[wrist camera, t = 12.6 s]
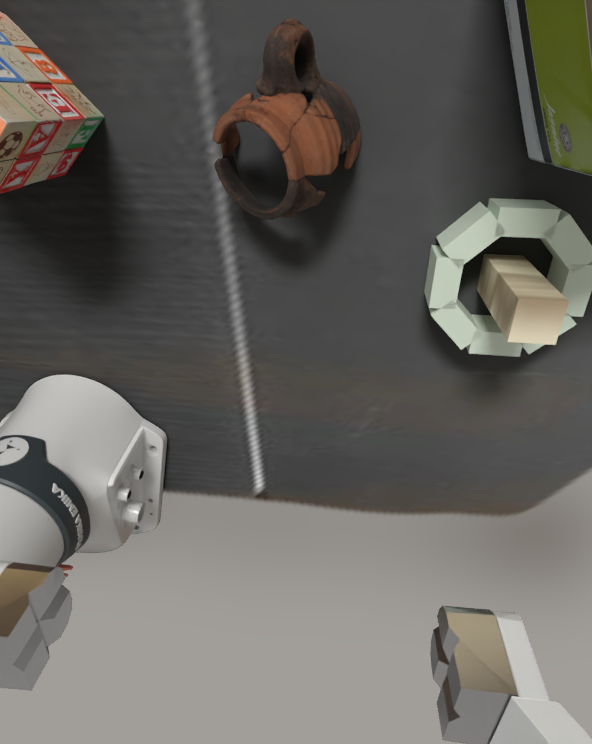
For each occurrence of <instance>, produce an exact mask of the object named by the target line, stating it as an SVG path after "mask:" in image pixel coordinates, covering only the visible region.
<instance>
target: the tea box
mask: <svg viewBox="0 0 592 744" xmlns="http://www.w3.org/2000/svg"><path fill="white" fill-rule="evenodd" d="M504 4H505V11H506V17H507V24H508V31H509V37H510V44H511V51H512V57H513V63H514V70H515V76H516V83H517V89H518V95H519V102H520V108H521V115H522V121H523V128H524V134H525V140H526V146H527V151H528V156H529V158H530V159H532V160H536V161H539V162H542V163H548V164H551V165H554V166H557V167H561V168H563V169H567V170H572V171H575V172H579V173H582V174H586V175H590V176H592V0H504Z"/></svg>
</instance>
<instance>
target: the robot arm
mask: <svg viewBox="0 0 592 744" xmlns="http://www.w3.org/2000/svg"><path fill="white" fill-rule="evenodd" d="M153 446H155V447H156V448H155V447H153ZM166 448H167V436H166V434H165V433H164V431H162V430H161V429H160V428H159V427H157V426H155V425H154V424H152V423H150V422H149V421H147V420H145V419H143V418H142V417H141V416H140V415H139V414H138V413H137V412H136V411H135V410H134V409H133V407H132V406H131V405H130V404H129V403H128V402H127V401H126V400H125V399H123V398H122V397H121V396H120V395H119V394H117V393H116V392H114V391H113V390H111V389H110V388H108V387H106V386H104V385H103V384H100V383H98V382H96V381H93V380H91V379H88V378H84V377H80V376H74V375H54V376H49V377H46V378H43V379H41V380H39V381H37V382H35V383H34V384H33V385H32V386H31V387H30V388H29V389H28V390H27V391H26V393H25V394H24V396H23V398H22V400H21V401H20V403H19V404H18V406H17V407H16V408H15V410H13V411H12V412H10V413H9V414H7V415H6V416H5V418H4V419H3V420H2V421H1V423H0V688H8V689H20V690H32V689H33V687H34V685H35V683H36V681H37V680H38V678H39V676H40V674H41V672H42V671H43V669H44V667H45V665H46V663H47V661H48V660H49V650H48V646H49V645H51V644H52V643H53V642H55V641H56V640H57V639H58V638H60V637H61V635H62V633H63V632H64V630H65V628H66V626H67V624H68V621H69V617H70V613H71V609H72V597H71V594H70V591H69V590H68V589H67V588H65V587H64V586H63V585H62V583H63V581H64V580H65V576H66V577H67V576H68V574H66V573H64V572H63V571H64V570H71V569H72V568H73V566H70V565H62V563H63V562H64V561H65V560H67V559H68V558H69V557H70V556H72V555H73V554H74V553H75V552H76V553H79V552H80V553H101V552H107V551H112V550H114V549H117V548H118V547H120V546H121V545H122V544H124V543H125V541H126V540H127V539H128V537H129V536H130V534H138V533H143V532H147V531H150V530H153V529H155V528H156V527H157V525H158V524H159V522H160V516H161V505H162V494H163V482H164V471H165V459H166ZM437 617H438V623H439V627H437V628H436V629H434V630H433V634H432V639H431V666H432V673H433V679H434V680H435V682H436V683H437V684H438V685H439V687H440V688H441V691H440V694H439V697H438V700H437V707H438V713H439V719H440V725H441V732H442V738H443V740H445V741H452V742H459V743H465V744H592V738H591V737H590V736H589V735H588V734H587V733H586V732H585V731H584V730H583V729H582V727H581V726H580V725H579V724H578V723H577V722H576V721H575V720H574V719H573V717H572V716H571V715H570V714H569V713H568V712H567V711H566V710H565V709H564V708H563V706H562V705H561V704H560V703H559V702H558V701H552V700H550V699H549V696H548V694H547V691H546V688H545V685H544V682H543V679H542V676H541V673H540V670H539V667H538V665H537V662H536V659H535V656H534V653H533V650H532V648H531V644H530V642H529V639H528V636H527V633H526V630H525V627H524V624H523V622H522V619H521V618H520V616H519V615H518V614H516V613H511V612H498V611H490V610H486V609H474V608H462V607H449V606H442V607H441V608H440V609H439V612H438V616H437Z"/></svg>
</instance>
